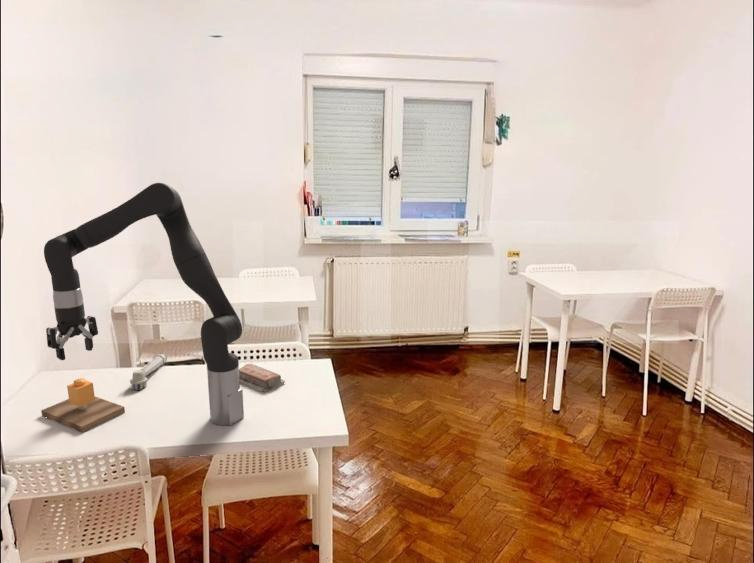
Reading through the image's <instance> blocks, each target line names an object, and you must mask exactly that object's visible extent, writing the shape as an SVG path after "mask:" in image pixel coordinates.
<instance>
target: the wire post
mask: <svg viewBox="0 0 754 563" xmlns="http://www.w3.org/2000/svg"><path fill="white" fill-rule="evenodd" d="M85 409H87V404H85V405H83V406H79V410H85Z"/></svg>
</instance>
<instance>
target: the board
mask: <svg viewBox="0 0 754 563" xmlns="http://www.w3.org/2000/svg"><path fill="white" fill-rule="evenodd" d="M125 411H126V410H125V406H123V405H121V404H118V403H114V402H112V401H109V400H106V399H103V398H101V397H98V396H95V400H94V401H91V402H89V403H87V409H85V410H79V406H77V405H74V404H71V403H70V402H69V398H67V399H65V400H63V401H60V402H58V403H55V404H53V405H51V406H49V407H46V408H44V409H41V417H43V416H44V417H43V418H45V417H47V418H46V419H48V420H50V421H53V422H55V423H57V422H58V424H60V425H63V426H65V427H67V428H70V429H72V430H75V431H77V432H79V433H85V432H89V430H92V429H94V428H95V427H98V426H100V425H102V424H104V423H106V422H108V421H110V420H112V419H115V418H118V417H119V416H121V415H123V414H125V413H126V412H125Z"/></svg>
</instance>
